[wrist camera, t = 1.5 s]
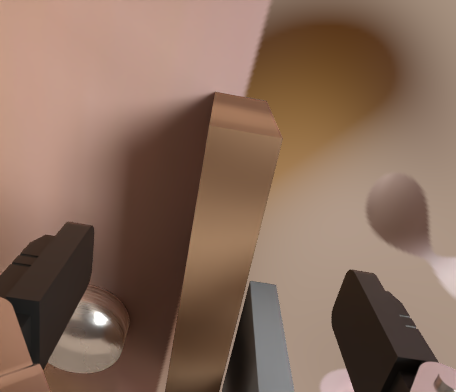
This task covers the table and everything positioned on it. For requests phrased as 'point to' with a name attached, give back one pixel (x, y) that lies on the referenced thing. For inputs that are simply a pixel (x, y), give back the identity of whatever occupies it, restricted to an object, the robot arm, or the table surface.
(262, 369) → the low cabinet
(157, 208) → the table surface
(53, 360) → the silver rounded piece
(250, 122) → the copper bar
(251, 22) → the table surface
